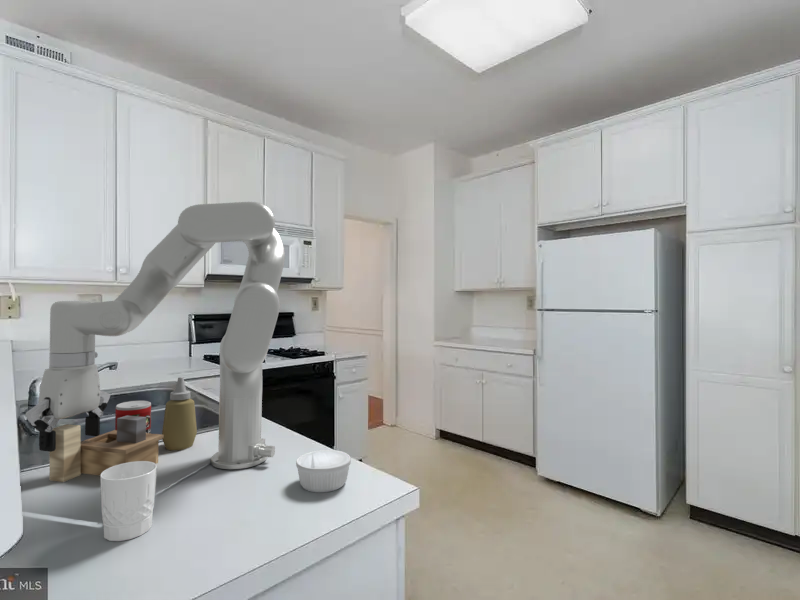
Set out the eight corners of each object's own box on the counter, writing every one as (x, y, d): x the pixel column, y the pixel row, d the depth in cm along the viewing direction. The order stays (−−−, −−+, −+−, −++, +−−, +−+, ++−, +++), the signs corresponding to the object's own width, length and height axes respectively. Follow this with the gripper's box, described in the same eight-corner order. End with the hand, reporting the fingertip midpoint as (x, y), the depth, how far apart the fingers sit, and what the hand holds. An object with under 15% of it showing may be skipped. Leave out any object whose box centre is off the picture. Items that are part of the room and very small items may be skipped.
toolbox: (158, 465, 98) (158, 438, 98) (125, 481, 89) (125, 452, 89) (114, 460, 100) (114, 434, 100) (77, 475, 91) (78, 447, 91)
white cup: (93, 548, 65) (94, 483, 65) (105, 523, 72) (106, 464, 72) (152, 537, 68) (153, 475, 68) (158, 514, 76) (159, 458, 76)
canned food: (134, 453, 104) (134, 408, 105) (106, 450, 106) (107, 406, 106) (157, 443, 112) (158, 401, 112) (131, 440, 114) (132, 399, 114)
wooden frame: (163, 438, 98) (163, 412, 98) (125, 453, 88) (126, 425, 88) (114, 433, 101) (115, 408, 101) (72, 448, 91) (73, 420, 91)
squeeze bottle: (203, 447, 110) (204, 377, 110) (172, 456, 103) (174, 382, 103) (185, 441, 114) (186, 373, 114) (154, 449, 107) (156, 378, 107)
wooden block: (80, 477, 90) (80, 425, 90) (63, 484, 87) (63, 430, 87) (66, 476, 91) (66, 424, 91) (49, 483, 87) (49, 429, 87)
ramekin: (285, 482, 90) (286, 457, 90) (329, 468, 98) (329, 445, 98) (316, 501, 82) (316, 473, 82) (360, 484, 90) (361, 459, 90)
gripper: (95, 354, 98) (93, 429, 98) (12, 365, 81) (11, 455, 81) (122, 355, 96) (121, 431, 96) (44, 367, 79) (42, 459, 79)
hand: (71, 442), depth 89 cm, fingers open, 9 cm apart
